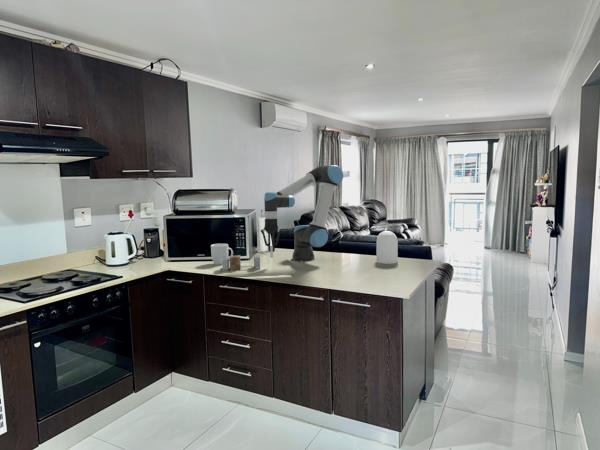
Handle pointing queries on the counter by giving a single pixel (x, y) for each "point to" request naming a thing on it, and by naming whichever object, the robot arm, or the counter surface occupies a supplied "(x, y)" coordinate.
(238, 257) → the block
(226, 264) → the fixed jaw
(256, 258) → the free jaw
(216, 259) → the mug
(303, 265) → the counter surface
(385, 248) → the container
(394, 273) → the counter surface
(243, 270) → the vise base
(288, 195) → the robot arm
